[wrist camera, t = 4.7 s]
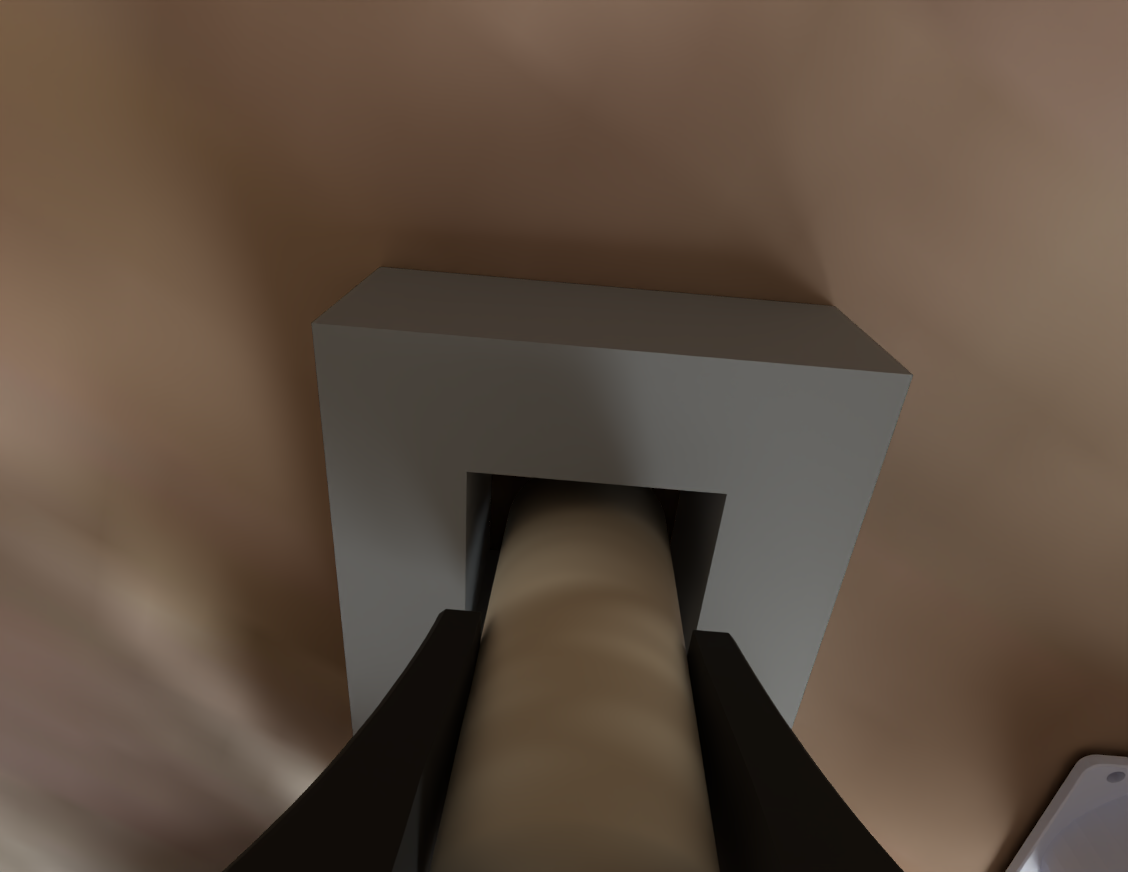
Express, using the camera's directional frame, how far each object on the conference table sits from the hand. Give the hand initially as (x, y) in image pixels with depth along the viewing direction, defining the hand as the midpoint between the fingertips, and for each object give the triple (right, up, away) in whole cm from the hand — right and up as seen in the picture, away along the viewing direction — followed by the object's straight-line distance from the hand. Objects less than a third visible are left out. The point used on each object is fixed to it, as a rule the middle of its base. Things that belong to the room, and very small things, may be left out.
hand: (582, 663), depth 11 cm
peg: (0, +2, +4) cm, 4 cm away
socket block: (0, +1, +6) cm, 6 cm away
